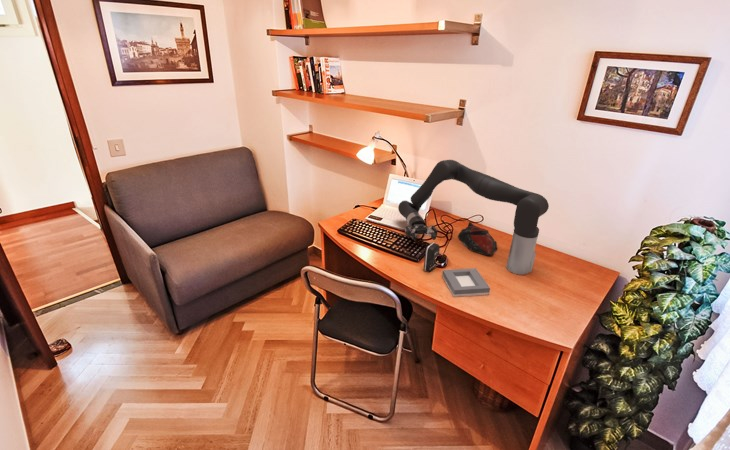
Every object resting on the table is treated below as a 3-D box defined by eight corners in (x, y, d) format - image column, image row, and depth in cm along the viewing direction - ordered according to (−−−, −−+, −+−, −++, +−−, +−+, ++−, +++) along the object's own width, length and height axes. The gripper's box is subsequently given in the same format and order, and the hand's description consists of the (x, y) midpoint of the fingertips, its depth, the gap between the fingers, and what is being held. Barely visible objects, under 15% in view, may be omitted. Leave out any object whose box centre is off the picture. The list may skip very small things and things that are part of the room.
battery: (430, 273, 152) (433, 249, 147) (422, 270, 154) (425, 247, 149) (438, 266, 157) (441, 243, 152) (430, 263, 159) (433, 240, 154)
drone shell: (461, 231, 189) (463, 217, 186) (501, 239, 181) (503, 225, 178) (451, 248, 172) (453, 233, 169) (493, 258, 164) (496, 243, 161)
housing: (474, 274, 152) (475, 268, 151) (488, 294, 139) (490, 288, 138) (442, 276, 150) (442, 270, 149) (453, 296, 138) (454, 290, 137)
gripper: (402, 216, 174) (410, 231, 159) (431, 215, 175) (441, 230, 161) (401, 230, 177) (408, 246, 163) (429, 229, 179) (439, 245, 164)
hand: (425, 238), depth 162 cm, fingers open, 8 cm apart
